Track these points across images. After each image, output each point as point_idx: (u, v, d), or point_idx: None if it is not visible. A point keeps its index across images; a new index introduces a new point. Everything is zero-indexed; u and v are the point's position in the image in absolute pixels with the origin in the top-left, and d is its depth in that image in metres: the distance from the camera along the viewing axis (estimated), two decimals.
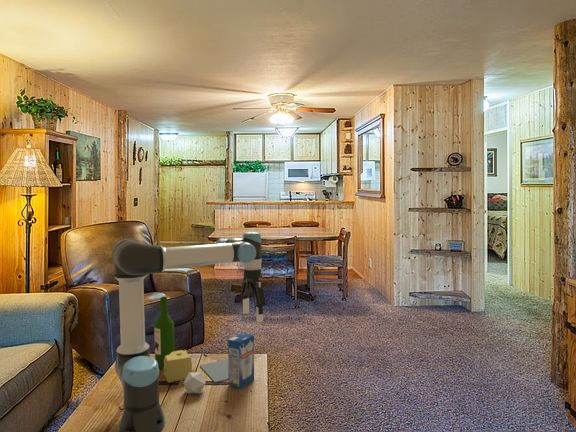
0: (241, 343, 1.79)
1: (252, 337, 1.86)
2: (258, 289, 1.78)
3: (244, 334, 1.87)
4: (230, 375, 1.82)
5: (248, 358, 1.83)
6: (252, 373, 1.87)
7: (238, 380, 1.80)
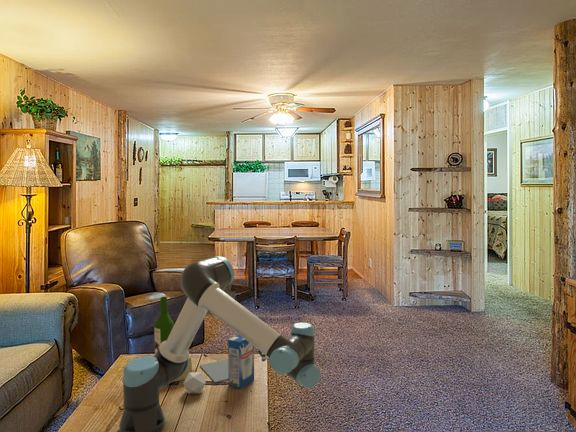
0: (241, 343, 1.79)
1: None
2: (262, 352, 1.55)
3: None
4: (230, 375, 1.82)
5: (248, 358, 1.83)
6: (252, 373, 1.87)
7: (238, 380, 1.80)
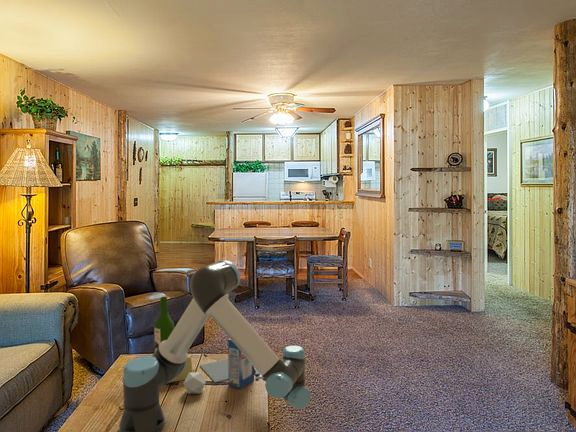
0: None
1: None
2: (255, 372, 1.62)
3: None
4: (230, 375, 1.82)
5: None
6: (252, 373, 1.87)
7: (238, 380, 1.80)
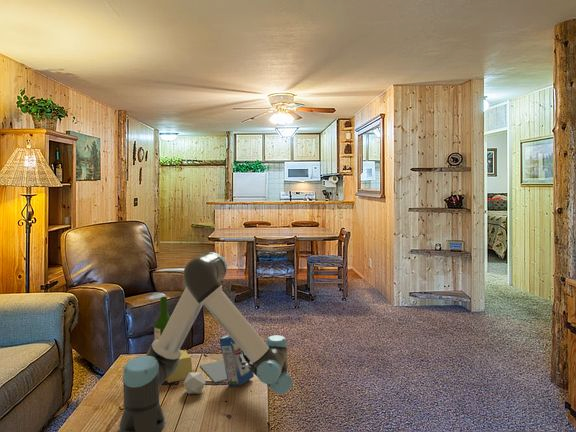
0: (232, 339, 1.82)
1: None
2: (242, 361, 1.72)
3: None
4: (228, 374, 1.82)
5: None
6: (251, 370, 1.87)
7: (236, 377, 1.80)
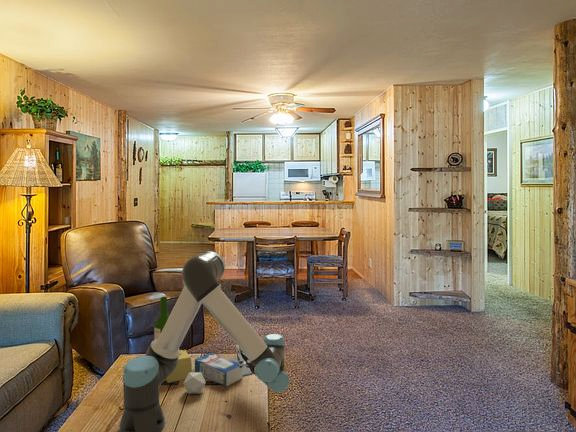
0: (198, 359, 1.94)
1: (210, 353, 2.00)
2: (239, 360, 1.73)
3: None
4: (218, 380, 1.85)
5: (217, 360, 1.93)
6: (235, 363, 1.90)
7: (220, 371, 1.84)
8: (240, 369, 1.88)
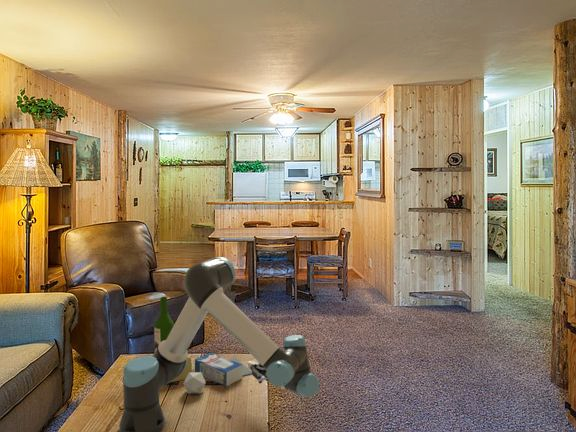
0: (198, 359, 1.94)
1: (210, 353, 2.00)
2: (257, 375, 1.57)
3: None
4: (218, 380, 1.85)
5: (217, 360, 1.93)
6: (235, 363, 1.90)
7: (220, 371, 1.84)
8: (240, 369, 1.88)
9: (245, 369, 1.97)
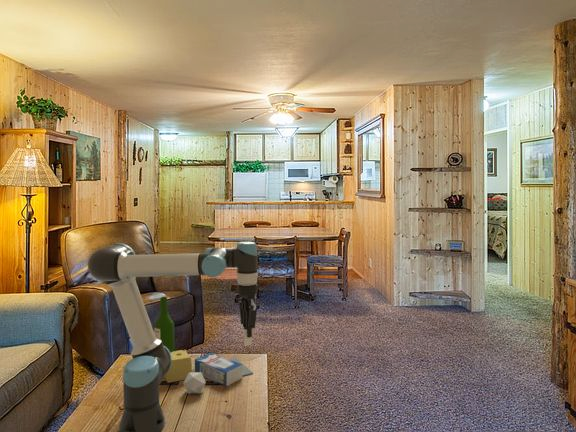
0: (198, 359, 1.94)
1: (210, 353, 2.00)
2: (251, 312, 1.57)
3: None
4: (218, 380, 1.85)
5: (217, 360, 1.93)
6: (235, 363, 1.90)
7: (220, 371, 1.84)
8: (240, 369, 1.88)
9: (245, 369, 1.97)
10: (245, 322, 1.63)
